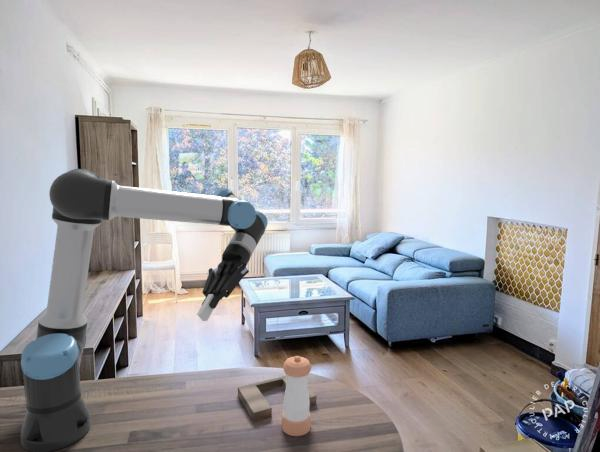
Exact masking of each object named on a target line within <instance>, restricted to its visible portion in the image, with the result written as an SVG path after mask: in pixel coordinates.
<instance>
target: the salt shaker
mask: <svg viewBox="0 0 600 452" xmlns="http://www.w3.org/2000/svg"><path fill="white" fill-rule="evenodd" d="M282 368H283V371H284V373H285V376H286V390H285V389H284V394H283V395H284V397H283V402H282V403H283V406H282V407H283V408H282V409H283V411H282V413H281V430H282V431H283V432H284V433H285V434H286V435H288V436H293V437H301V436H304V435H306V434H308V433H309V431H310V430H311V417H312V416H311V412H310V406H309V405H310V401H309V394H308V387H309V385H308V384H309V377H308V376H309V374H310V372H311V370H312V363H310V361H309V359H308V358H306V357H303V356H300V355H295V356H291V357H288V358H286V360H285V361H284V362H283V366H282Z"/></svg>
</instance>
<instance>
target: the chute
mask: <svg viewBox="0 0 600 452" xmlns="http://www.w3.org/2000/svg"><path fill="white" fill-rule="evenodd" d="M278 388H282V389H284V391H285V390H286V375H283V376H279V377H276V378H275V377H274V378H271V379H268V380H262V381H259V382H258V381H257V382H254V383H251V384H246V385H241V386H238V387H237V396H238V398H239V399H240V402H242V404H243V406H244V408H245V409H246V412H247V414H249V416H250V418H251V419H252V420H253V422H257V421H261V420H264V419H267V418H268V419H269V418H271V417H272V416H273V415H272V414H273V411H272V406H271V405H270V403H269V402H268V400H267V398H265V396H264V394H262V392H267V391H271V390H275V389H278ZM308 394H309V401H310V405H309V407H312V406H314V405H317V394H315V393H314V392H313V390H312V389H310V387H309V386H308Z"/></svg>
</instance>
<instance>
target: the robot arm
mask: <svg viewBox="0 0 600 452" xmlns="http://www.w3.org/2000/svg"><path fill="white" fill-rule="evenodd" d="M48 196H49V201H50V203H51V205H52V215H51V220H52V221H53V222H54V223H56V225H57V227H56V235H55V236H56V237H55V242H54V250H53V251H54V252H53V259H52V266H51V274H50V281H49V289H48V298H47V305H46V312H45V313H44V314H43V315H41V316H40V317H39V318H38V324H37V331H36V338H35V340H31V341H30V342H28V344H26V345H25V347H24V348H23V349H22V352H21V360H20V367H21V368H20V369H21V370H22V371H21V372H22V379H23V389H24V398H25V405H26V412H25V415H24V420H23V422H22V426H21V429H20V444H21V447H23V449H24V450H26V451H28V452H54V451H57V450H60V449H63V448H65V447H69V446H70V445H73V444H75V443H76V442H78V441H79V440H81V439H82V438H83V437H84V436H85V435H87V433H88V432H89V431H90V429H91V427H92V415H91V412H90V410H89V408H88V407H87V404H86V403H85V400H84V398H83V396H82V390H81V389H82V387H81V375H80V366H81V362H82V357H83V353H84V349H85V347H86V344H87V327H88V318H87V317H86V315H84V313H83V312H84V304H85V297H86V290H87V283H88V276H89V270H90V262H91V254H92V247H93V240H94V232H95V229H96V228H97V227H99V226H101V224H102V221H112V220H113V219H114V218H117V217H118V218H131V219H143V220H154V221H155V220H156V221H168V222H182V223H194V224H203V225H205V224H206V225H217V226H225V227H230V228H231V229H232V230H234V234H233V235H232V237H231V238H230V240H229V242H228V244H227V246H226V248H225V249H224V251H223V253H222V255H221V262H220V263H218V265H217V267H216V268H214V269H213V268H212V267H211V268H209V269H208V275H207V278H206V281H205V282H204V283H205V284H204V286H203V289H202V295H204V297H205V298H204V299H203V302H202V303H201V306H200V309H199V310H198V312H197V314H196V315H197V316H198V317H199V319H200V320H201V321H203V322H208V320H209V318H210V316H211V315H212V313H213V311H214V310H215V309H216V307H217V306H218V304H219V303H220V301H222V299H223V298H225V299H226V298H228V297H230V295H231V294H232V292H233V291H234V290H235V288H237V286H238V285H239V284H240V282H241V280H242V279H243V278H244V277H245V276H246V275H247V274H248V273H249V272H250V270H249V268H248V267H247V265H248V263H249V261H250V260H251V257H252V256H253V254H254V252H255V250H256V249H257V246H258V244H259V242H260V240H261V239H262V236H263V235H264V234H265V231H266V230H267V226H268V218H267V216H266V215H265V213H264V212H260V211H259V210H257V209H255V207H254V205H253V204H252V203H251V202H250V201H249V200H247V199H242V198H241V197H238V196H236V195H235V194H234V192H233V191H232V190H231V189H229V188H228V187H227V186H221V187H219V188H217V189H216V190H215V191H214V192H213V193H212V195H207V194H199V193H189V192H188V193H187V192H179V191H173V190H172V191H171V190H163V189H155V188H154V189H153V188H145V187H135V186H128V185H119V184H118V183H117V182H116V181H115V180H111V179H104V178H101V176H99V175H98V174H97V173H96V172H93V171H91V170H88V169H84V168H77V169H76V168H75V169H74V168H73V169H71V170H69V171H66V172H64V173H62V174H60V175H58V177H56V178H55V179H54V180H53V181H52V183H51V186H50V187H49V194H48Z"/></svg>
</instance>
